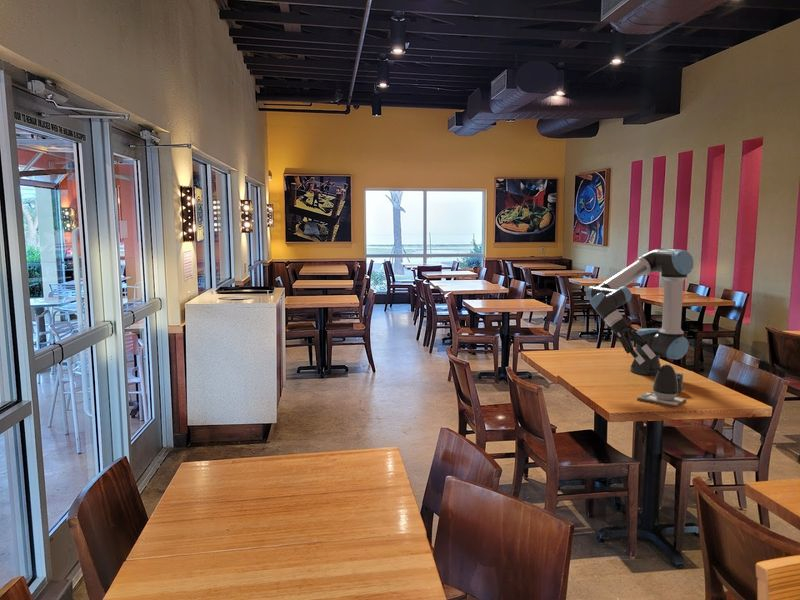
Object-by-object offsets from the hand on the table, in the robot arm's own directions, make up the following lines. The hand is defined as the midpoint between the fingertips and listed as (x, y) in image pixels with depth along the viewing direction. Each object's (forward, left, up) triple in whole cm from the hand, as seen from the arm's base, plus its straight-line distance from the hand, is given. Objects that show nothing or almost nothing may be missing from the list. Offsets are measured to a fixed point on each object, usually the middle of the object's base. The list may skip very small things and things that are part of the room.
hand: (648, 360), depth 267 cm
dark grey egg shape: (0, +8, -16) cm, 18 cm away
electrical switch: (-19, +5, -17) cm, 26 cm away
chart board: (0, +7, -17) cm, 18 cm away
